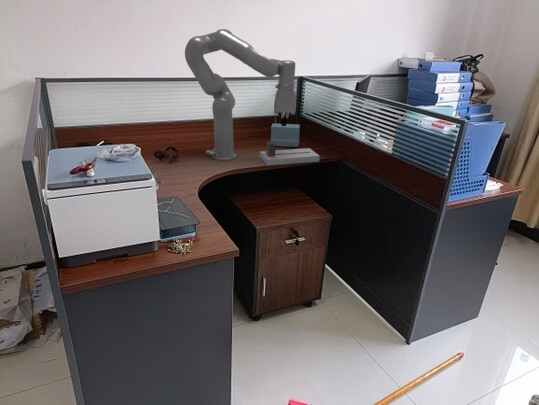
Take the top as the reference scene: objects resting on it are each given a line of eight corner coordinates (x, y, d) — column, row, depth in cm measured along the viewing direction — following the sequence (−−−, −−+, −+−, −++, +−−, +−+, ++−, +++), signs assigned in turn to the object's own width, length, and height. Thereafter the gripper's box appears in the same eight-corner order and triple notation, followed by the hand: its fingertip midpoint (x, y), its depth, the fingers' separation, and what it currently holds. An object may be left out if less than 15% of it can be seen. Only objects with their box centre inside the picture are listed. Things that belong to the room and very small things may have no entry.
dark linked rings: (173, 157, 204) (177, 145, 199) (177, 169, 198) (182, 158, 193) (150, 154, 197) (154, 142, 192) (153, 167, 191) (158, 155, 186)
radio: (298, 144, 229) (300, 109, 221) (298, 148, 221) (300, 113, 213) (272, 142, 231) (272, 108, 222) (270, 147, 222) (271, 112, 214)
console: (266, 165, 193) (267, 159, 191) (259, 157, 205) (259, 151, 204) (319, 161, 200) (319, 155, 199) (309, 153, 212) (309, 148, 211)
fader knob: (269, 155, 196) (269, 144, 193) (266, 153, 200) (266, 141, 198) (275, 155, 197) (275, 143, 194) (272, 152, 201) (272, 141, 198)
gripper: (273, 89, 181) (271, 127, 189) (303, 89, 185) (300, 127, 193) (268, 86, 188) (267, 124, 196) (297, 86, 192) (295, 123, 200)
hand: (283, 125), depth 194 cm, fingers closed
